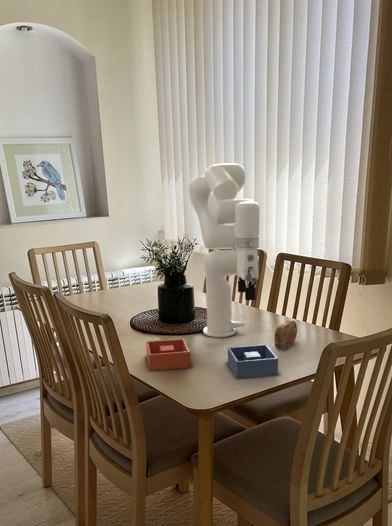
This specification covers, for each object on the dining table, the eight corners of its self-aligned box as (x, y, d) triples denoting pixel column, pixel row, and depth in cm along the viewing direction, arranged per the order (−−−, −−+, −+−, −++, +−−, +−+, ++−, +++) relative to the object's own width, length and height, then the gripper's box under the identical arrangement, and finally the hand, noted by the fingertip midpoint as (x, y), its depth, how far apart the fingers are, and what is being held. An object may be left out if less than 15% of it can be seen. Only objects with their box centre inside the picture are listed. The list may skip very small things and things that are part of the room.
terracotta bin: (184, 353, 191) (184, 338, 190) (190, 367, 179) (189, 351, 177) (146, 356, 190) (146, 341, 188) (150, 370, 177) (149, 354, 175)
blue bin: (266, 359, 184) (266, 344, 182) (277, 374, 172) (278, 358, 170) (227, 362, 182) (227, 347, 180) (236, 378, 170) (236, 361, 168)
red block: (173, 357, 187) (172, 345, 185) (175, 362, 182) (174, 349, 181) (160, 358, 186) (159, 346, 184) (161, 363, 182) (160, 350, 180)
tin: (280, 353, 189) (281, 330, 186) (272, 351, 191) (272, 328, 188) (297, 340, 201) (298, 318, 198) (289, 338, 203) (290, 317, 200)
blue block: (256, 364, 179) (257, 351, 178) (260, 369, 175) (260, 356, 173) (243, 365, 179) (243, 352, 177) (246, 370, 174) (247, 357, 173)
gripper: (266, 247, 163) (265, 302, 169) (251, 237, 179) (250, 288, 185) (241, 248, 162) (241, 303, 168) (229, 238, 178) (229, 290, 184)
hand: (246, 295), depth 177 cm, fingers open, 9 cm apart
